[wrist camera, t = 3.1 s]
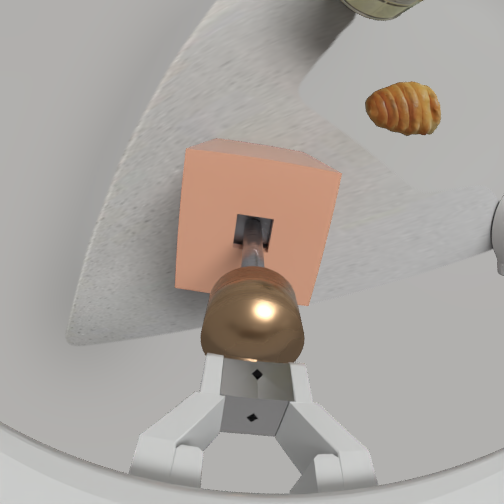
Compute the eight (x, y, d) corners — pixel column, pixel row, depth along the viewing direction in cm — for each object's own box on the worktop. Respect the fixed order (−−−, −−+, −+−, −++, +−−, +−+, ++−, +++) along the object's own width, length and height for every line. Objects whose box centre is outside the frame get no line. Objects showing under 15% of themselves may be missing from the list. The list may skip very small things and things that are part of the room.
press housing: (303, 152, 33) (341, 173, 19) (287, 233, 37) (308, 306, 23) (215, 138, 33) (186, 148, 18) (205, 221, 37) (174, 287, 22)
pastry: (367, 137, 33) (379, 139, 29) (358, 83, 30) (370, 79, 27) (431, 133, 32) (447, 135, 29) (424, 83, 30) (439, 80, 26)
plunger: (316, 181, 21) (393, 257, 9) (294, 278, 24) (325, 413, 12) (205, 163, 21) (141, 219, 9) (195, 264, 24) (148, 394, 12)
